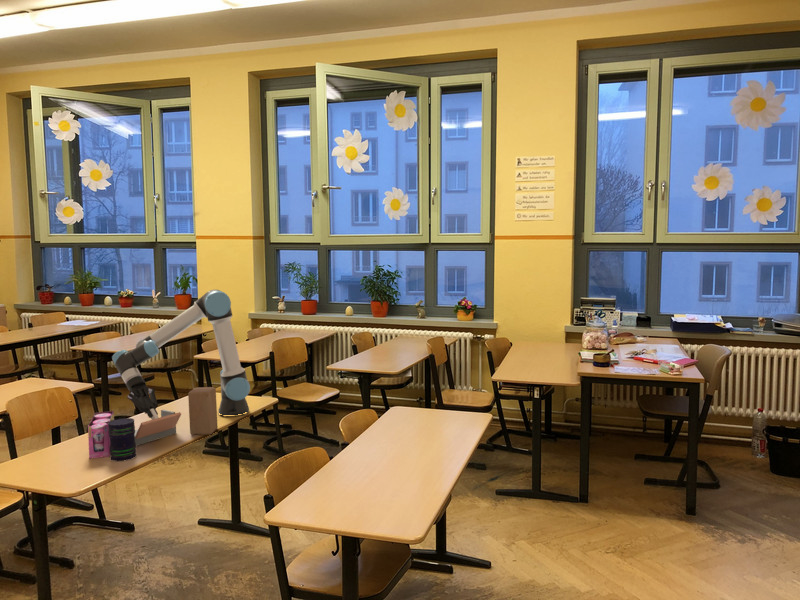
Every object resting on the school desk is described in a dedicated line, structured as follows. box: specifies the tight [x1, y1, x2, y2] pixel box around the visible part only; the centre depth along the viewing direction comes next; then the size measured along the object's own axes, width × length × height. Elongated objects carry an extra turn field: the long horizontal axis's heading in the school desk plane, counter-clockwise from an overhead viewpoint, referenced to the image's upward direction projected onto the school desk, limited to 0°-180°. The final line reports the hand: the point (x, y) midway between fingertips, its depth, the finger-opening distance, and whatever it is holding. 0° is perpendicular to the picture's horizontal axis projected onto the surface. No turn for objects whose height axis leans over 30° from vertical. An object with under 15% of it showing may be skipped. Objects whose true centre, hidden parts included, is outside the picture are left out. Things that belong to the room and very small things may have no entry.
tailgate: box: [135, 411, 182, 439], centre depth 272 cm, size 19×1×9 cm
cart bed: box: [134, 409, 177, 447], centre depth 276 cm, size 22×9×10 cm, turn 146°
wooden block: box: [187, 386, 218, 436], centre depth 284 cm, size 10×10×20 cm
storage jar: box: [108, 417, 137, 462], centre depth 252 cm, size 10×10×15 cm
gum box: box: [87, 410, 115, 459], centre depth 262 cm, size 24×8×14 cm, turn 19°
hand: (157, 422), depth 271 cm, fingers closed
